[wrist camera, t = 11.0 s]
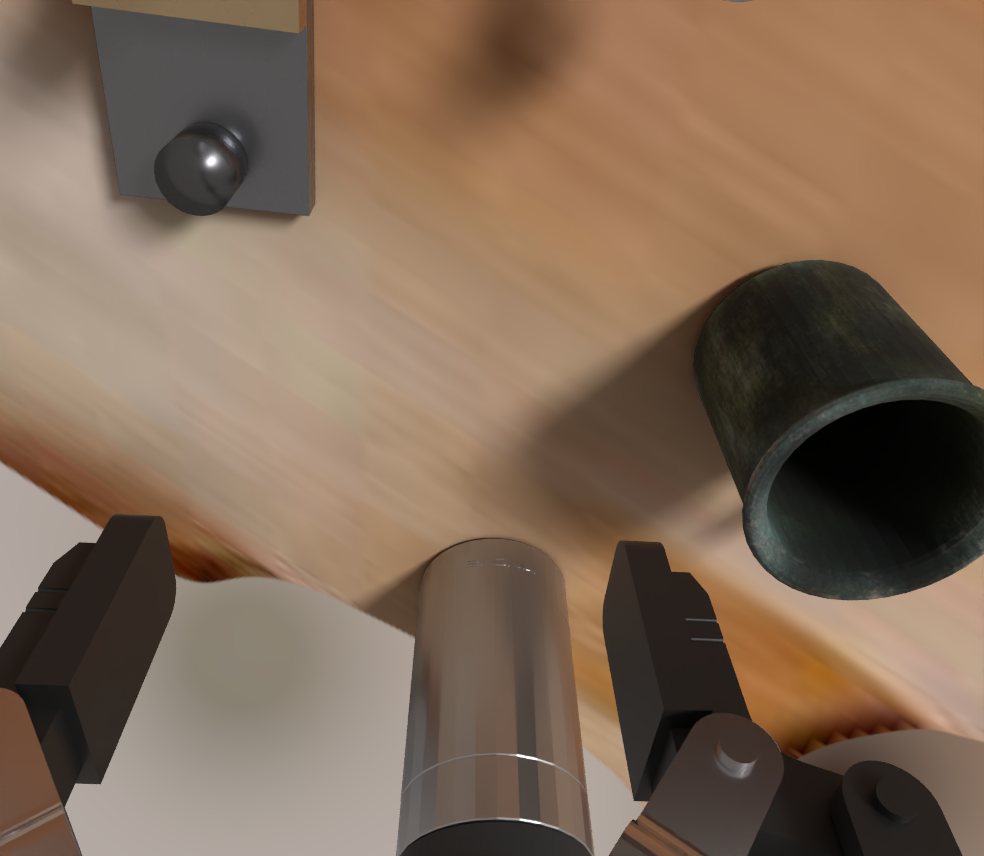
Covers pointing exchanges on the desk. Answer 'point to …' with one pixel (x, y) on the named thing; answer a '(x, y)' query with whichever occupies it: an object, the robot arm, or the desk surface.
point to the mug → (843, 433)
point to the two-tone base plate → (210, 101)
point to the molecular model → (737, 0)
